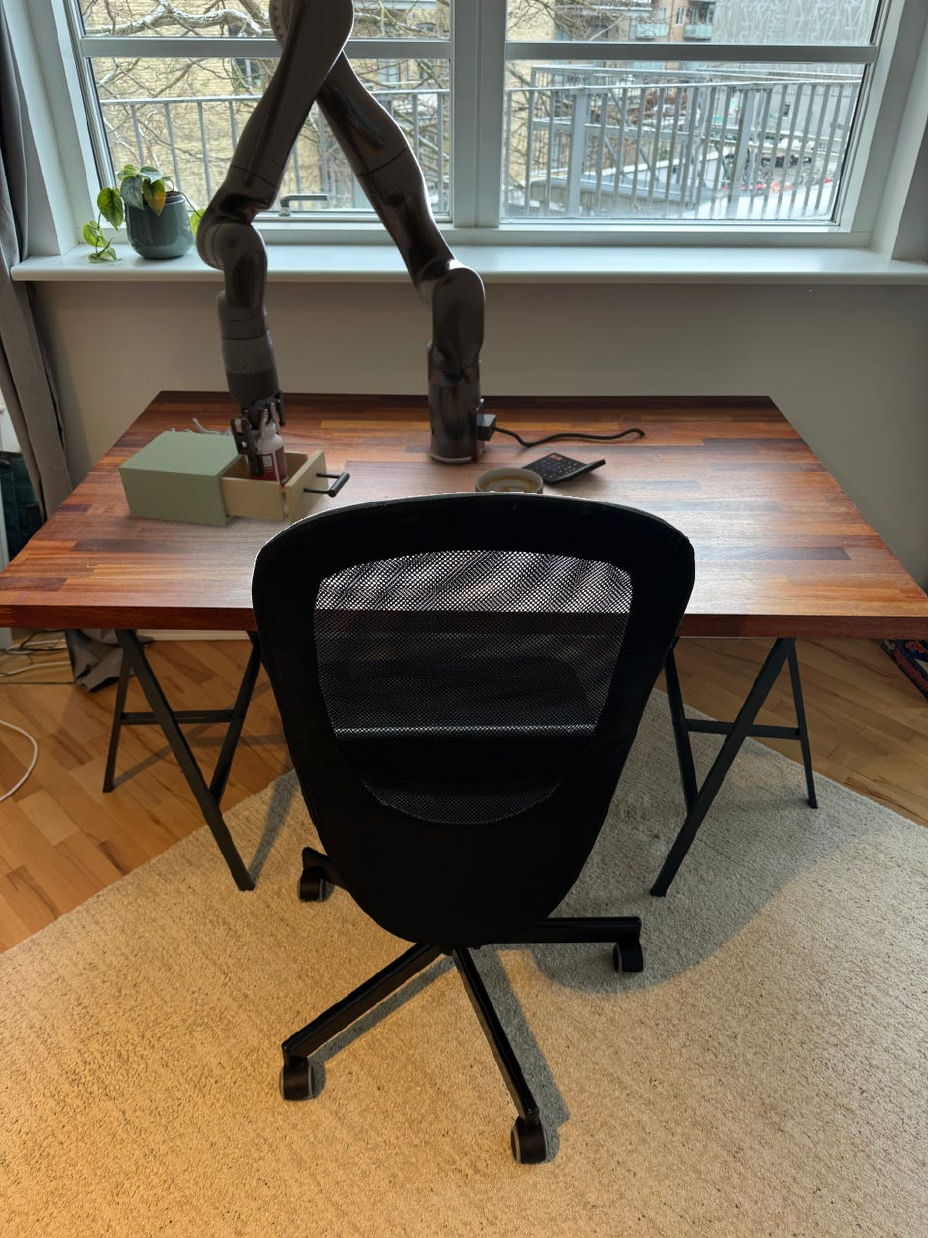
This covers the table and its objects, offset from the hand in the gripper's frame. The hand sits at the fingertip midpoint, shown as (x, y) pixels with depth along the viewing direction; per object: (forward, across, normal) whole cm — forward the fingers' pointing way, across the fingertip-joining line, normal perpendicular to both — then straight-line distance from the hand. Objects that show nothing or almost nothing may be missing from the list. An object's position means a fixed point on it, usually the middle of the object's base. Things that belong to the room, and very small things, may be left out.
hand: (267, 465), depth 141 cm
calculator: (+8, +21, -44) cm, 50 cm away
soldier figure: (+8, +21, +24) cm, 32 cm away
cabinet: (+8, 0, +14) cm, 15 cm away
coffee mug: (+8, -2, -40) cm, 40 cm away
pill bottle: (+4, 0, 0) cm, 4 cm away
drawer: (+7, 0, -2) cm, 7 cm away
